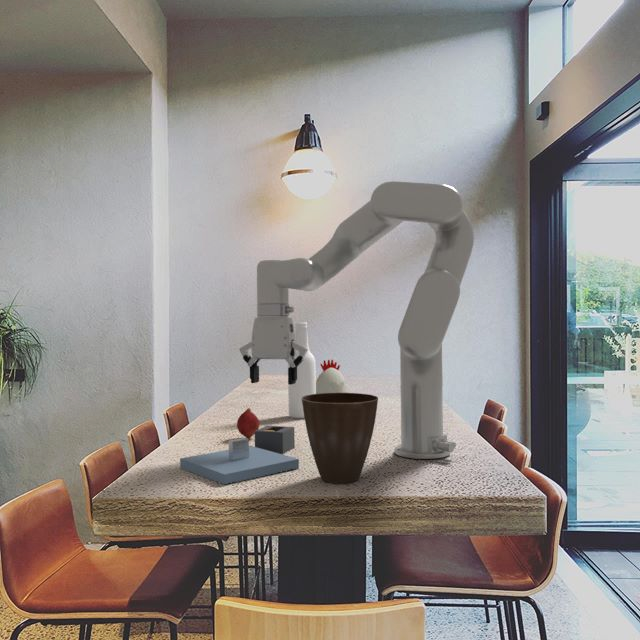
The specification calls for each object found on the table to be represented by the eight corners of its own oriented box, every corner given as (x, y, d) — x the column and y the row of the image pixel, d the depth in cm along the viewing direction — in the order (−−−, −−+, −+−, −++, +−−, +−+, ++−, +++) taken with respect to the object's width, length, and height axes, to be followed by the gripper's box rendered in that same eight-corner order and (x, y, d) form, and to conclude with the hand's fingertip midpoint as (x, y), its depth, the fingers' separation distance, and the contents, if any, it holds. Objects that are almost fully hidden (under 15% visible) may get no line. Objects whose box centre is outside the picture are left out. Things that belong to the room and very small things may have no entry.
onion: (238, 441, 156) (238, 410, 156) (235, 437, 161) (235, 407, 161) (261, 439, 157) (260, 409, 157) (257, 435, 163) (257, 406, 163)
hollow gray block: (294, 447, 148) (294, 426, 147) (283, 453, 141) (282, 431, 141) (267, 445, 150) (267, 424, 150) (254, 452, 143) (254, 430, 143)
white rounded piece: (307, 397, 240) (307, 359, 240) (338, 394, 246) (338, 357, 246) (322, 401, 228) (322, 361, 228) (355, 398, 234) (354, 359, 234)
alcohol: (300, 419, 187) (298, 322, 187) (283, 416, 194) (281, 322, 194) (322, 416, 193) (320, 322, 192) (304, 413, 199) (303, 322, 199)
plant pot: (374, 468, 126) (373, 391, 126) (384, 488, 111) (383, 401, 111) (302, 470, 126) (301, 393, 126) (303, 490, 111) (301, 403, 111)
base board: (298, 468, 127) (298, 458, 127) (224, 484, 115) (224, 474, 115) (250, 454, 141) (250, 445, 141) (180, 467, 129) (180, 458, 129)
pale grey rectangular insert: (249, 457, 129) (248, 439, 129) (232, 460, 126) (232, 441, 126) (244, 456, 130) (244, 437, 130) (228, 459, 127) (228, 440, 127)
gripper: (312, 311, 146) (312, 382, 146) (247, 312, 152) (247, 380, 152) (300, 311, 139) (301, 386, 139) (233, 312, 145) (233, 383, 145)
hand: (273, 383), depth 145 cm, fingers open, 9 cm apart
